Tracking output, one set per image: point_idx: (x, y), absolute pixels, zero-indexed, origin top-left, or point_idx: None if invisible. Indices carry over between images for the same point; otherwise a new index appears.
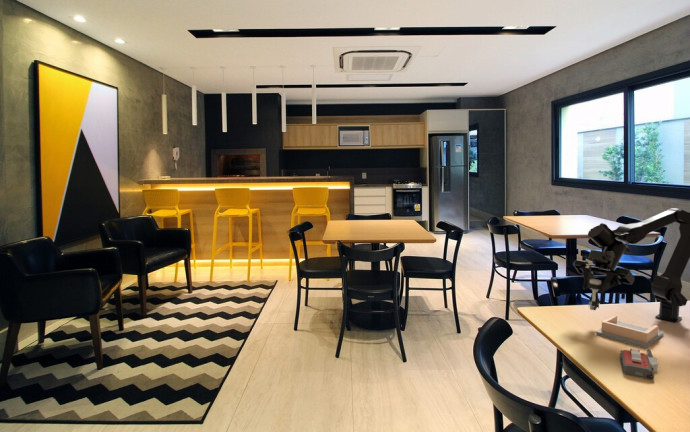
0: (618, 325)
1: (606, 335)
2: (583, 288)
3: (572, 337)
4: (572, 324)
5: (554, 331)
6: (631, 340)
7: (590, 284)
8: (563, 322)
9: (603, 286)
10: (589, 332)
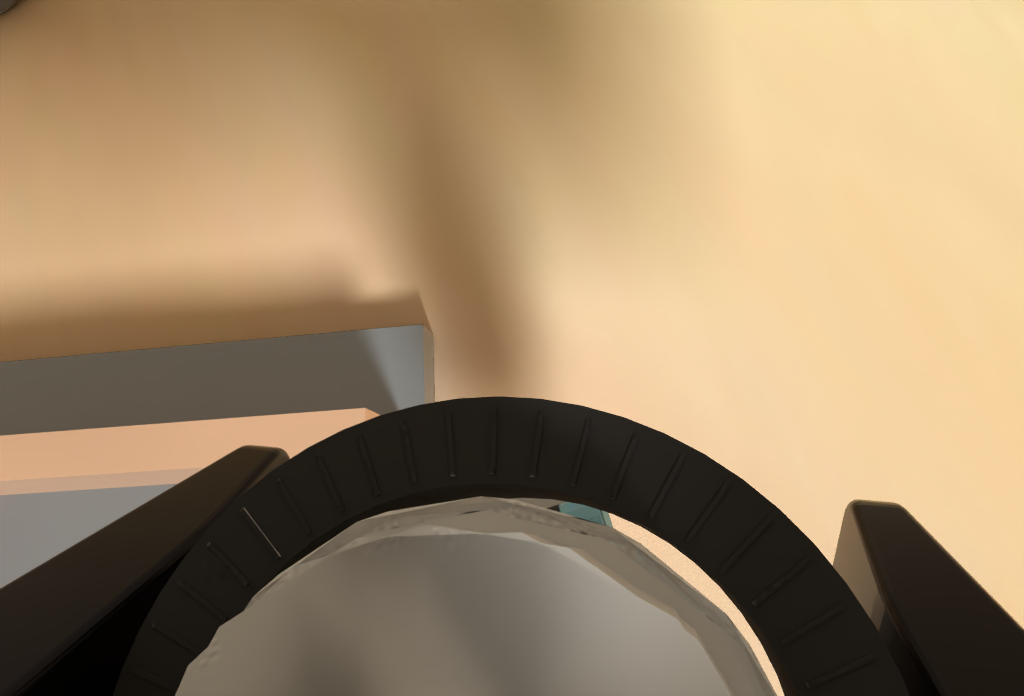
0: (149, 448)
1: (309, 336)
2: (878, 511)
3: (561, 21)
4: (819, 435)
5: (797, 5)
6: (51, 385)
7: (552, 404)
8: (948, 405)
9: (45, 568)
10: (519, 334)
